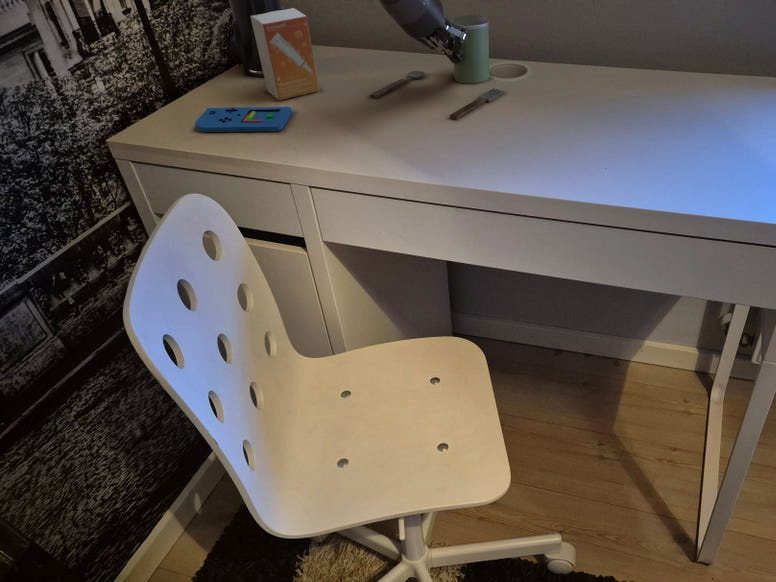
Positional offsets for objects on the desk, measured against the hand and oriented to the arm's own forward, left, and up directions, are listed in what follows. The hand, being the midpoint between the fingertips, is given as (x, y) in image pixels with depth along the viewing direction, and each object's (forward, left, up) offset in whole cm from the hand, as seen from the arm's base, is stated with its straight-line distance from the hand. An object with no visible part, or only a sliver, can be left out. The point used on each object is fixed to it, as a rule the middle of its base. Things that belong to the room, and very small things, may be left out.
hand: (458, 59), depth 121 cm
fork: (+2, -11, -4) cm, 12 cm away
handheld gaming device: (-38, -12, -4) cm, 40 cm away
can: (+3, +3, -4) cm, 6 cm away
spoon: (-12, +1, -4) cm, 12 cm away
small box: (-31, +1, -5) cm, 31 cm away
